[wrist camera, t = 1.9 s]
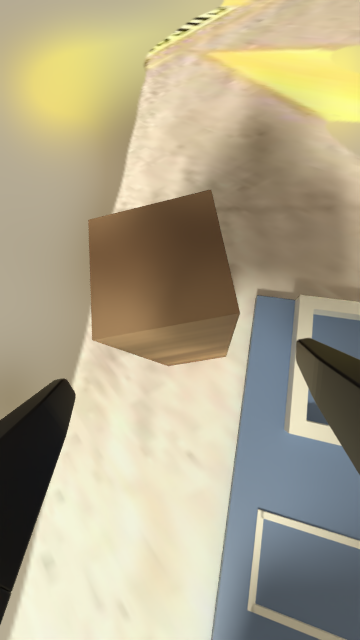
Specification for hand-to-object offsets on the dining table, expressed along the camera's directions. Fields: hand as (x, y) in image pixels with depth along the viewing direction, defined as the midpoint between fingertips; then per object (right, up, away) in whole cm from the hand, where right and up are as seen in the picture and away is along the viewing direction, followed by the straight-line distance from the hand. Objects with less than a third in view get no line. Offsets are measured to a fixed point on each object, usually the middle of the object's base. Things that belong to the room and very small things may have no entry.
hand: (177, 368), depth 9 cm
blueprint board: (+11, -9, +7) cm, 16 cm away
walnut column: (+1, +1, +11) cm, 11 cm away
